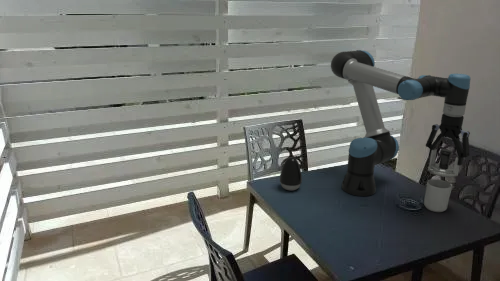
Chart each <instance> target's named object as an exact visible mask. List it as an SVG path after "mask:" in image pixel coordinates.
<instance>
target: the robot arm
mask: <svg viewBox="0 0 500 281" xmlns="http://www.w3.org/2000/svg"><path fill="white" fill-rule="evenodd" d="M375 65H376V63H375V59H374V56H373V55H372V54H371V53H370V52H369V51H366V50H362V49H357V50H356V49H355V50H349V51H340V52H337V53H336V54H335V55H334V56H333V58H331V61H330V69H331V72H332V73H333V74H334V76H336V77H337V78H341V79H343V80H346V81H347V82H348V84H351V85H352V88H353V91H354V94H355V98H356V101H357V103H358V107H359V108H358V109H359V111H360V115H361V119H362V122H363V126H364V129H365V136H364V137H358V138H355V139H352V140H351V142H350V144H349V148H348V158H347V159H348V160H347V171H346V174H345V175H344V178H343V180H342V182H341V189H342V190H343V191H344V192H345V193H347V194H350V195H353V196H357V197H358V196H359V197H369V196H372V195H374V194H375V193H376V191H377V185H376V181H375V176H374V175H375V174H374V173H375V166H377V165H379V164H380V165H381V164H382V163H387V162H390V161H391V160H392V159H394V158H396V157H397V155H398V152H399V151H400V150H399V149H400V146H399V141H398V139H397V138H396V137H394V136H393V135H391V132H390V130H389V129H387V128H386V127H385V123H384V121H383V120H384V119H383V116H382V113H381V109H380V106H379V103H378V100H377V99H378V98H377V96H376V95H377V94H376V93H375V89H374V87H375V88H378V89H381V90H383V91H386V92H390V93H393V94H396V95H398V96H399V97H400V98H401V99H402V100H403V101H414V100H417V99H422V98H426V97H432V96H433V97H438V98H444V101H443V109H442V114H441V120H440V124H437V123H436V124H433V125H431V132H430V134H429V136H428V139H427V140H426V143H425V147H426V148H428V149H429V152H428V157H429V163H428V164H429V165H432V164H436V157H437V149H436V147H437V146H438V145H439V144H440V143H441V142H442V141H443V139H444V138H449V139H450V140H451V141H452V143H453V145H454V147H455V151H456V154H457V156H455V160H454V165H453V167H454V170H453V173H456V172H458V173H459V171H460V166H462V165H463V163H464V162H463V161H464V158H465V159H466V158H468V157H470V154H471V153H470V143H469V142H470V139H469V137H470V134H471V133H470V131H469V130H468V131H466V130H463V123H464V120H465V119H464V118H465V117H464V115H465V113H466V108H467V107H466V106H467V102H468V101H467V100H468V98H469V97H468V96H469V92H470V89H471V87H470V86H471V76H470V75H468V74H467V73H466V74H465V73H450V74H449V75H448V77H440V76H435V75H430V74H428V75H425V74H421V75H420V76H418V77H417V78H413V77H409V76H407V75H404V74H400V73H397V72H393V71H390V70H386V69H383V68H379V67H376V66H375ZM439 130H440V133H439V134H438V136H437V138H436V135H437V133H438V131H439ZM460 135H461V137H462V138H460ZM435 138H436V139H435ZM460 139H461V140H462V143H461V140H460ZM429 165H428V166H429Z"/></svg>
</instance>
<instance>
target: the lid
mask: <svg viewBox="0 0 500 281" xmlns="http://www.w3.org/2000/svg"><path fill="white" fill-rule="evenodd" d="M452 154H453V150H451V149H447V148H442V149H440V159H439V163H437V162H435V164H432V165H428V167H427V171H428V172H429V173H430V174H432V175H434V176H438V177H443V178H455V177H458V175H459V171H458V172H456V173H453V170H454V165H451V164H450V161H451V160H450V159H451V156H452Z"/></svg>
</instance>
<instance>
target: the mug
mask: <svg viewBox="0 0 500 281" xmlns="http://www.w3.org/2000/svg"><path fill="white" fill-rule="evenodd" d="M452 187H453V184H452V183H450V182H448V181H445V180H442V179H433V178H432V179H428V180H427V182H426V188H425V194H424V201H423V204H424V207H425V208H426V209H427V210H428V211H431V212H435V213H443V212H445V211H447V209H448V205H449V201H450V196H451V192H452V189H453V188H452Z"/></svg>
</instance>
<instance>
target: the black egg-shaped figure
mask: <svg viewBox="0 0 500 281" xmlns="http://www.w3.org/2000/svg"><path fill="white" fill-rule="evenodd" d="M302 176H303V175H302V170H301V166H300V164H299V161H298V156H297V155H295V156H294V157H293V156H289V157H287V159H285V161H284V163H283V165H282V167H281V170H280V175H279V183H280V185H281V187H282V188H283V189H284V190H287V191H296V190H297V189H299V188H300V187H301V184H302V182H303V178H302Z"/></svg>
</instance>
